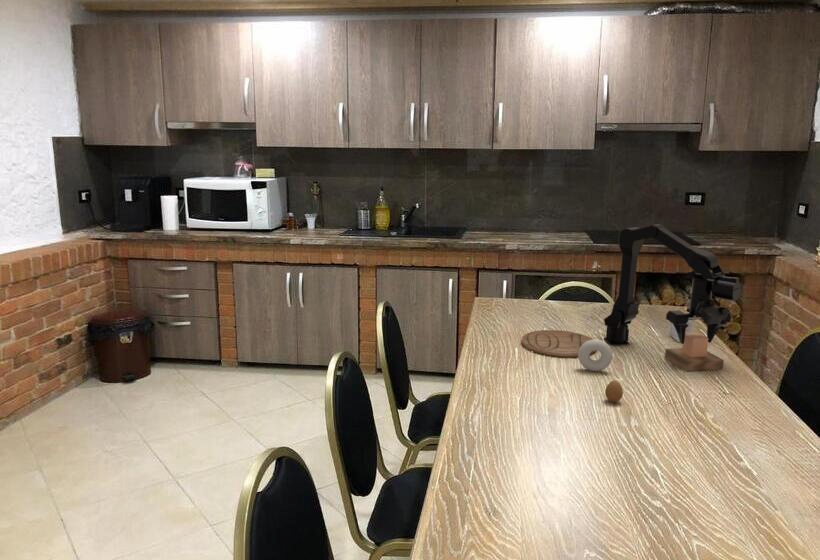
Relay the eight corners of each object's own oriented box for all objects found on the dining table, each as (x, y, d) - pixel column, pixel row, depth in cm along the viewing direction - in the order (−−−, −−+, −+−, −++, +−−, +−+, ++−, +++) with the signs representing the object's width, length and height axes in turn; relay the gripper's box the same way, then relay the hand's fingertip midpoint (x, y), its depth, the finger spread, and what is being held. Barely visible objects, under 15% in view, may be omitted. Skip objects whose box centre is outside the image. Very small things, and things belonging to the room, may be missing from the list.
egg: (600, 399, 170) (602, 378, 169) (614, 397, 172) (616, 376, 171) (611, 406, 166) (613, 384, 165) (625, 403, 168) (627, 382, 167)
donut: (577, 371, 191) (579, 339, 188) (576, 367, 194) (579, 336, 192) (611, 374, 188) (614, 342, 186) (610, 370, 192) (613, 339, 190)
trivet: (590, 336, 225) (590, 331, 225) (604, 361, 201) (604, 355, 200) (519, 333, 227) (519, 328, 227) (524, 357, 203) (524, 351, 203)
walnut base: (686, 371, 192) (687, 361, 191) (664, 357, 204) (665, 348, 203) (722, 369, 194) (723, 360, 193) (698, 356, 205) (699, 347, 205)
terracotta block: (691, 357, 195) (693, 338, 194) (681, 351, 200) (684, 333, 199) (706, 356, 196) (708, 338, 195) (696, 351, 201) (698, 333, 200)
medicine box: (690, 343, 219) (693, 318, 217) (677, 342, 219) (680, 318, 217) (681, 335, 226) (684, 312, 224) (669, 335, 226) (671, 312, 224)
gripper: (689, 302, 184) (683, 353, 188) (746, 300, 187) (739, 350, 191) (667, 292, 195) (662, 341, 199) (722, 291, 198) (716, 338, 202)
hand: (695, 343), depth 197 cm, fingers open, 9 cm apart
